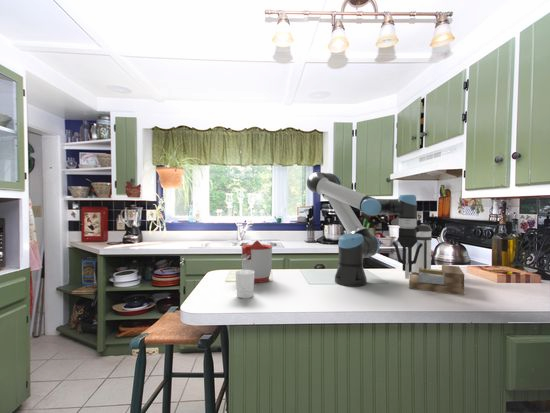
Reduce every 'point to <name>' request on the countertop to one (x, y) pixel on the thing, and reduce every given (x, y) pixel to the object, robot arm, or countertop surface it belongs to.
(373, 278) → the countertop surface
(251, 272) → the white cup
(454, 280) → the socket block
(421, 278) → the grey steel plug
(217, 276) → the countertop surface
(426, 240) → the coffee press
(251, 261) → the citrus juicer
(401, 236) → the robot arm
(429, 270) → the brass plug
